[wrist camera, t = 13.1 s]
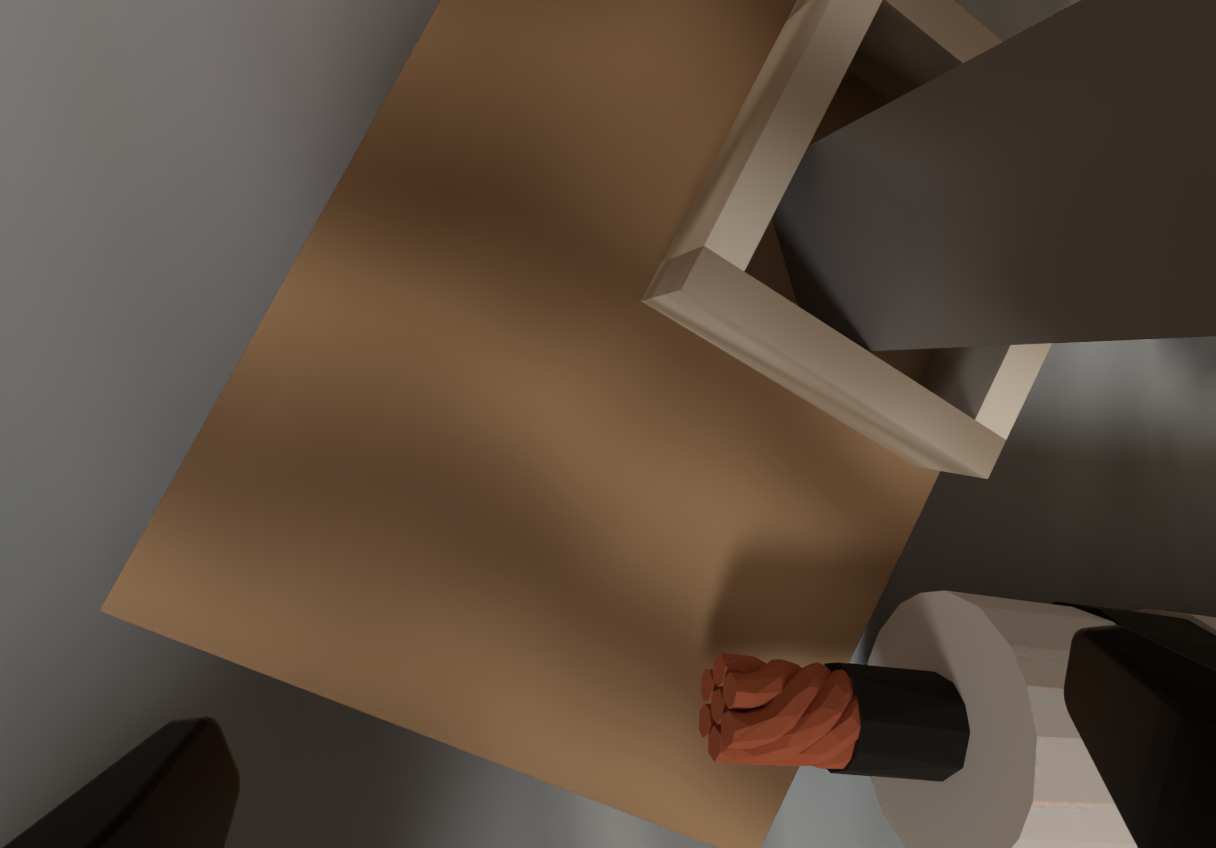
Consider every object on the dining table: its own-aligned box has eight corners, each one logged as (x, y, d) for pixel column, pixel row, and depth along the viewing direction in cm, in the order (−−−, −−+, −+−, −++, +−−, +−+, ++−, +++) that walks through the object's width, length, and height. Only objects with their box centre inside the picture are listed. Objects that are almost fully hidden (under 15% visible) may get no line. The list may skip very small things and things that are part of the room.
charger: (812, 353, 19) (1418, 327, 8) (758, 172, 18) (1341, -139, 7) (958, 296, 20) (1675, 201, 9) (913, 123, 19) (1629, -215, 8)
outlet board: (728, 827, 21) (806, 930, 17) (124, 590, 16) (45, 656, 13) (1038, 185, 22) (1173, 147, 18) (558, -190, 18) (606, -343, 14)
